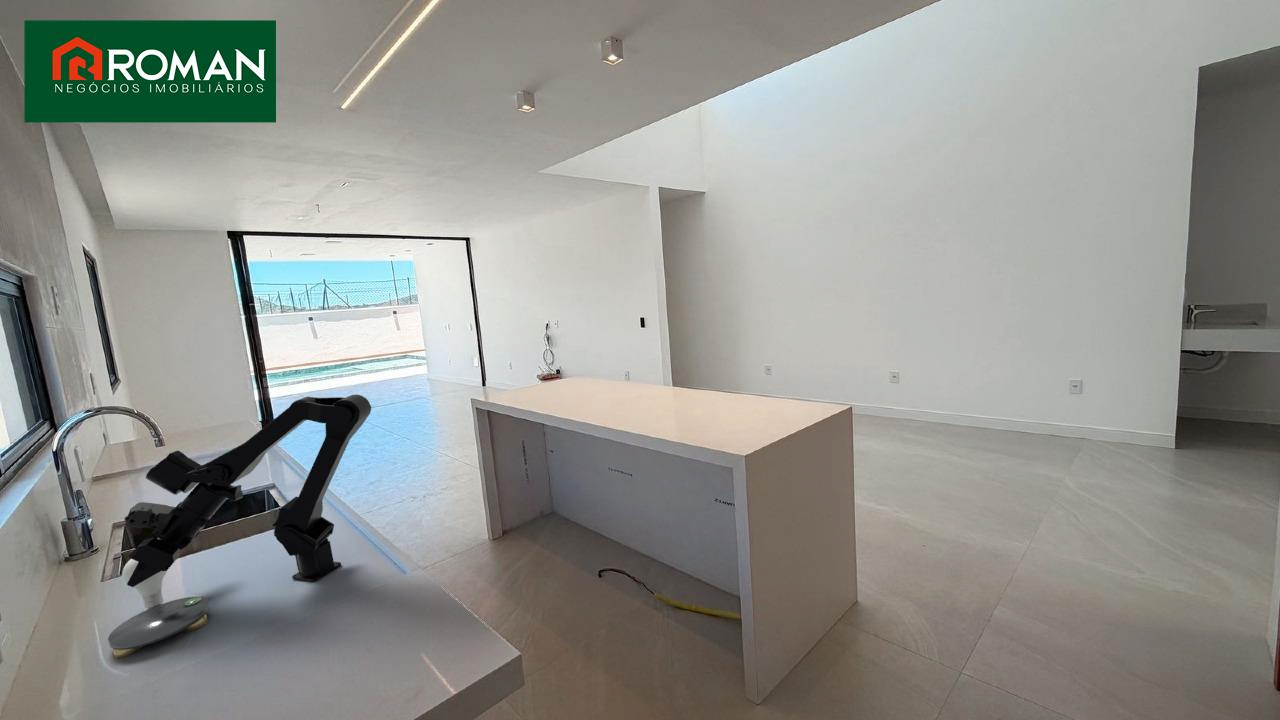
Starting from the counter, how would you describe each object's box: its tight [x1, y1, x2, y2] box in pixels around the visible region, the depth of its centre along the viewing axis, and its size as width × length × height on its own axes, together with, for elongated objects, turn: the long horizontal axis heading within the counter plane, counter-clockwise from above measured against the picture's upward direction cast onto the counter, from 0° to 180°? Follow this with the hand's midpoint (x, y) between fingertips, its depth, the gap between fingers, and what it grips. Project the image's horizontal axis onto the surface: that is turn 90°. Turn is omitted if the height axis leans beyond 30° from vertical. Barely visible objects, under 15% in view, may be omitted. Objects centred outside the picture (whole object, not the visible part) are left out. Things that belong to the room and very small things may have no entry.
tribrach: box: [107, 596, 210, 659], centre depth 90 cm, size 13×13×3 cm
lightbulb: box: [121, 558, 168, 609], centre depth 98 cm, size 6×6×11 cm
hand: (137, 577), depth 97 cm, fingers closed on lightbulb, 6 cm apart
